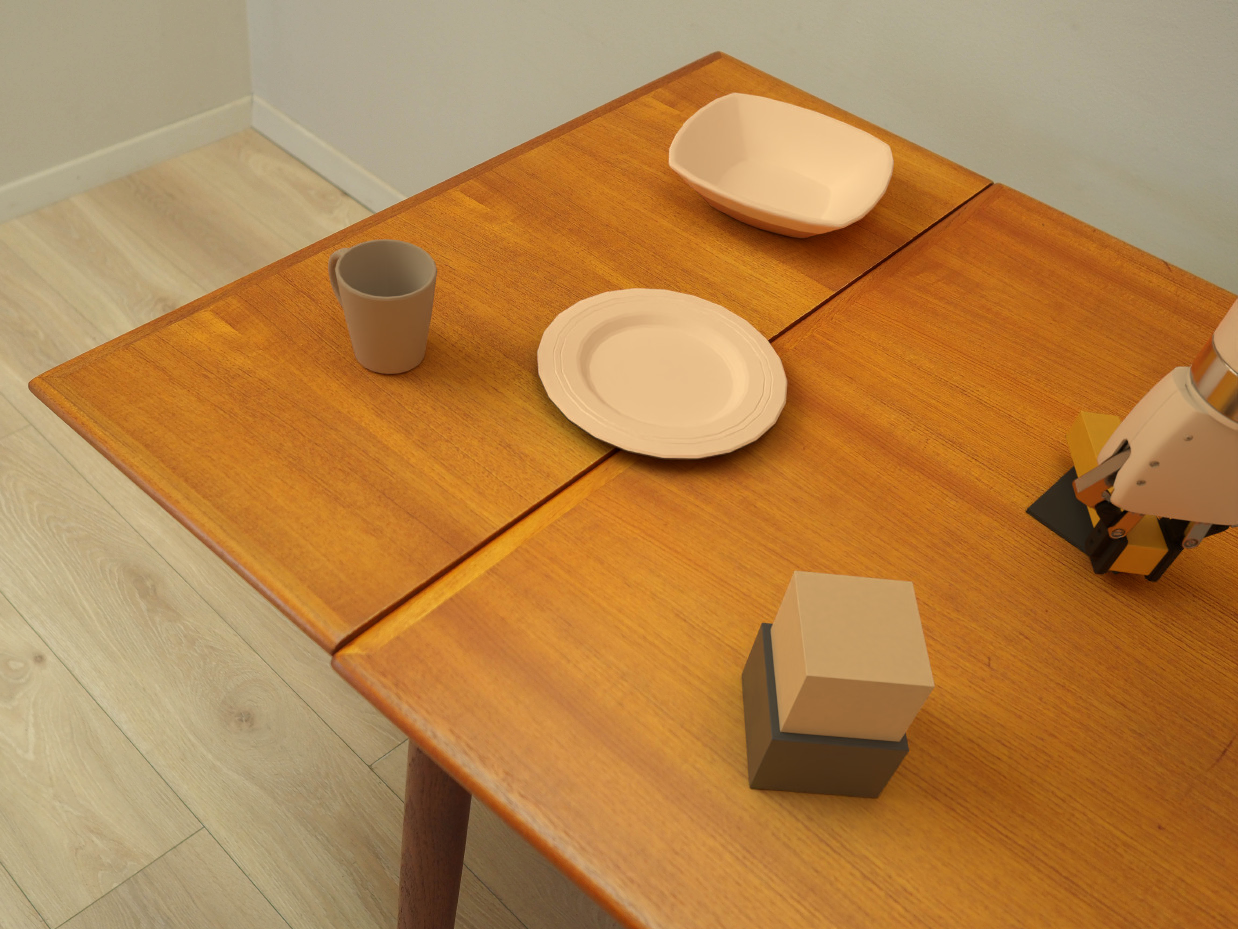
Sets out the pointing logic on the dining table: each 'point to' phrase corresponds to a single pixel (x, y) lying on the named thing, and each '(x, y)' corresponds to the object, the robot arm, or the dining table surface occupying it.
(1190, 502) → the robot arm
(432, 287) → the cup
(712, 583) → the dining table surface
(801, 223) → the bowl
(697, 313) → the plate
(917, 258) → the dining table surface
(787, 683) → the tower
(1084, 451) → the bar
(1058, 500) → the mat
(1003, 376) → the dining table surface
